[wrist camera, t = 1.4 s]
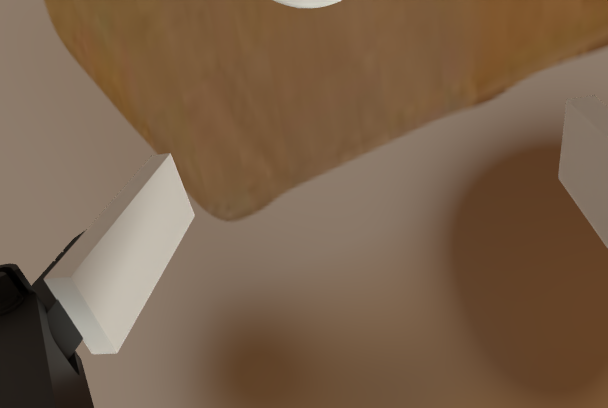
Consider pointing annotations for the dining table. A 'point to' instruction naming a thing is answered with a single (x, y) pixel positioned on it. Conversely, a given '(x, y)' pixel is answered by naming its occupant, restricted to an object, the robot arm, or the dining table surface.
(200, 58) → the dining table surface
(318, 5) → the supplement tub
